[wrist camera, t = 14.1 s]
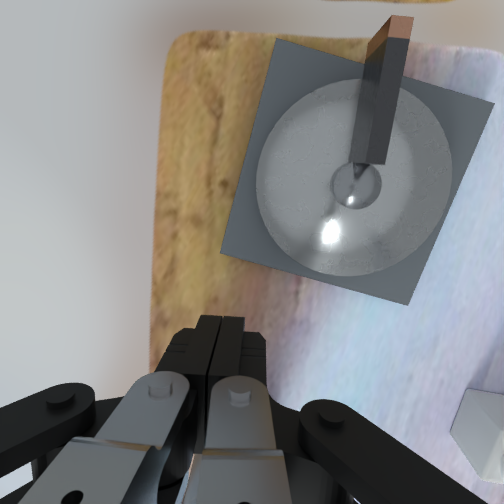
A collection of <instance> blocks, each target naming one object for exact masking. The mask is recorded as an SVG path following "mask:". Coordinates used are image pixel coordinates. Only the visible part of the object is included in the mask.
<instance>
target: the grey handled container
mask: <svg viewBox="0 0 504 504" xmlns="http://www.w3.org/2000/svg"><path fill="white" fill-rule="evenodd" d="M450 435H451V436H452V438H453V439H454V441H455V442H456V444H457V445H458V447H459V448H460V450H461V451H462V453H463V454H464V455H465V457H466V458H467V460H468V461H469V463H470V464H471V466H472V467H473V469H474V470H475V472H476V473H477V475H478V476H479V478H480V479H481V480H482V481H487V482H493V483H498V484H504V395H502V394H496V393H490V392H485V391H479V390H473V389H467V390H466V391H465V394H464V397H463V399H462V402H461V405H460V407H459V410H458V413H457V415H456V418H455V420H454V423H453V426H452V428H451V431H450Z"/></svg>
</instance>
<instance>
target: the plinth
mask: <svg viewBox="0 0 504 504" xmlns="http://www.w3.org/2000/svg"><path fill="white" fill-rule="evenodd" d="M364 65H365V64H362V63H358V62H355V61H352V60H348V59H345V58H342V57H338V56H335V55H332V54H328V53H325V52H322V51H318V50H315V49H312V48H308V47H305V46H302V45H298V44H295V43H292V42H288V41H285V40H282V39H278V38H276V42H275V46H274V50H273V53H272V57H271V61H270V65H269V69H268V72H267V76H266V80H265V84H264V88H263V91H262V95H261V99H260V103H259V107H258V110H257V114H256V118H255V122H254V125H253V129H252V133H251V137H250V141H249V144H248V148H247V152H246V156H245V160H244V163H243V167H242V171H241V175H240V179H239V182H238V186H237V190H236V194H235V198H234V201H233V205H232V209H231V213H230V216H229V220H228V224H227V228H226V232H225V235H224V239H223V243H222V247H221V251H220V253H221V254H225V255H228V256H232V257H235V258H239V259H243V260H246V261H250V262H253V263H257V264H260V265H264V266H268V267H271V268H275V269H278V270H282V271H285V272H289V273H293V274H296V275H300V276H303V277H307V278H310V279H314V280H318V281H321V282H325V283H328V284H332V285H335V286H339V287H343V288H346V289H350V290H353V291H357V292H360V293H364V294H368V295H371V296H375V297H378V298H382V299H385V300H389V301H393V302H396V303H400V304H403V305H407V306H408V304H409V302H410V300H411V297H412V295H413V293H414V290H415V288H416V286H417V283H418V281H419V279H420V276H421V274H422V272H423V269H424V267H425V265H426V262H427V260H428V258H429V255H430V253H431V251H432V248H433V246H434V244H435V241H436V239H437V237H438V234H439V232H440V230H441V227H442V225H443V223H444V220H445V218H446V216H447V213H448V211H449V209H450V206H451V204H452V202H453V200H454V197H455V195H456V193H457V190H458V188H459V186H460V183H461V181H462V179H463V176H464V174H465V172H466V169H467V167H468V165H469V162H470V160H471V158H472V155H473V153H474V151H475V148H476V146H477V144H478V141H479V139H480V137H481V134H482V132H483V130H484V127H485V125H486V123H487V120H488V118H489V116H490V113H491V111H492V109H493V106H494V104H495V103H492V102H488V101H485V100H482V99H478V98H475V97H472V96H468V95H465V94H462V93H458V92H455V91H452V90H448V89H445V88H442V87H438V86H435V85H432V84H428V83H425V82H422V81H418V80H415V79H412V78H408V77H405V76H402V81H401V86H400V88H402V89H404V90H406V91H408V92H410V93H411V94H412V95H414V96H415V97H417V98H418V99H419V100H421V101H422V102H423V103H424V104H425V105H426V106H427V107H428V108H429V109H430V111H431V112H432V113H433V114H434V116H435V117H436V118H437V120H438V122H439V123H440V125H441V127H442V129H443V131H444V133H445V136H446V138H447V141H448V144H449V149H450V153H451V160H452V183H451V188H450V194H449V198H448V201H447V204H446V207H445V209H444V212H443V214H442V216H441V218H440V220H439V222H438V223H437V225H436V227H435V228H434V230H433V231H432V233H431V234H430V235H429V236H428V238H427V239H426V240H425V241H424V242H423V243H422V244H421V245H420V246H419V247H418V248H417V249H416V250H415V251H414V252H412V253H411V254H410V255H409V256H407V257H406V258H405V259H403V260H401V261H400V262H398V263H396V264H395V265H392V266H390V267H388V268H386V269H384V270H381V271H377V272H374V273H371V274H366V275H361V276H335V275H329V274H324V273H321V272H318V271H314V270H312V269H310V268H308V267H305V266H303V265H302V264H300V263H298V262H297V261H295V260H294V259H292V258H291V257H290V256H289V255H287V254H286V253H285V252H284V251H283V250H282V249H281V248H280V247H279V246H278V245H277V243H276V242H275V241H274V239H273V238H272V236H271V235H270V234H269V232H268V230H267V228H266V226H265V224H264V222H263V219H262V216H261V214H260V210H259V206H258V201H257V193H256V174H257V168H258V162H259V159H260V155H261V152H262V149H263V147H264V144H265V142H266V140H267V138H268V136H269V134H270V132H271V131H272V129H273V127H274V126H275V124H276V123H277V122H278V121H279V119H280V118H281V117H282V116H283V114H284V113H285V112H286V111H287V110H288V109H289V108H290V107H291V106H292V105H293V104H295V103H296V102H297V101H299V100H300V99H301V98H303V97H304V96H306V95H307V94H309V93H311V92H313V91H314V90H316V89H318V88H321V87H323V86H326V85H328V84H331V83H335V82H339V81H343V80H352V79H362V77H363V71H364Z"/></svg>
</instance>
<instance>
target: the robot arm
mask: <svg viewBox="0 0 504 504" xmlns="http://www.w3.org/2000/svg"><path fill="white" fill-rule="evenodd" d="M244 327H245V317H231V316H224V317H222V316H214V315H201V316H200V318H199V320H198V323H197V325H196V328H195V329H193V328H183V329H182V330H180V331H179V332H178V333H176V334H175V335H174V336H173V338H172V340H171V342H170V345H168V347H167V349H166V352H165V353H164V355H163V357H162V358H161V360H160V362H159V364H158V366H157V368H156V370H155V371H154V373H150V374H147V375H145V376H143V377H141V378H140V379H138V380H137V381H136V382H135V383H134V384H133V386H132V387H131V388H130V390H129V391H128V392H127V394H126V395H125V396H123V397H118V398H112V399H107V400H106V399H105V400H99V401H95V392H94V390H93V389H92V388H91V387H90V386H88V385H86V384H82V383H65V384H60V385H56V386H53V387H50V388H48V389H45V390H43V391H40V392H38V393H35V394H33V395H30V396H28V397H26V398H23V399H21V400H18V401H16V402H13V403H11V404H9V405H6V406H4V407H1V408H0V478H1V477H3V476H5V475H7V474H9V473H10V472H12V471H14V470H16V469H18V468H20V467H21V466H24V465H25V464H27V463H29V462H31V466H32V474H33V480H32V481H31V482H29V483H27V484H25V485H24V486H22V487H20V488H19V489H17V490H15V491H13V492H11V493H10V494H8V495H6V496H5V497H3V498H1V499H0V504H181V502H182V499H183V496H184V493H185V496H184V500H183V504H358V503H357V502H356V501H355V500H354V498H355V499H356V500H357V501H358V502H360V503H361V504H488V503H486V502H485V501H483V500H482V499H480V498H479V497H478V496H476V495H475V494H473V493H472V492H470V491H469V490H468V489H466V488H465V487H463V486H462V485H460V484H459V483H458V482H456V481H455V480H453V479H452V478H450V477H449V476H448V475H446V474H445V473H443V472H442V471H440V470H439V469H438V468H436V467H435V466H433V465H432V464H430V463H429V462H427V461H426V460H425V459H423V458H422V457H420V456H419V455H417V454H416V453H415V452H413V451H412V450H410V449H409V448H407V447H406V446H405V445H403V444H402V443H400V442H399V441H397V440H396V439H395V438H393V437H392V436H390V435H389V434H387V433H386V432H385V431H383V430H382V429H380V428H379V427H377V426H376V425H374V424H373V423H372V422H370V421H369V420H367V419H366V418H364V417H363V416H362V415H360V414H359V413H357V412H356V411H354V410H353V409H352V408H350V407H348V406H347V405H345V404H343V403H340V402H337V401H333V400H327V399H319V400H313V401H310V402H308V403H307V404H305V405H304V406H303V407H302V409H301V411H300V412H299V411H296V410H293V409H290V408H287V407H284V406H282V405H280V404H279V403H277V402H276V401H275V400H273V399H272V397H271V396H270V395H269V393H268V390H267V385H266V340H265V339H264V338H263V336H262V335H261V334H260V333H259V332H244ZM193 454H195V456H194V460H193V464H192V468H191V472H190V476H189V468H190V465H191V461H192V457H193ZM188 476H189V480H188ZM186 487H187V488H186ZM185 490H186V492H185Z"/></svg>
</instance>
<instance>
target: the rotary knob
mask: <svg viewBox="0 0 504 504" xmlns="http://www.w3.org/2000/svg"><path fill="white" fill-rule="evenodd" d="M413 20H414V18H413V17H406V16H396V15H392V16H391V17H390V18H389V19H388V20H387V22H386V23H385V24H384V25H383V26H382V27H381V29H380V30H379V31H378V32H377V33H376V34H375V36H374V37H373V38H372V39H371V40H370V42H369V43H368V47H367V53H366V59H365V65H364V71H363V77H362V79H352V80H343V81H339V82H335V83H331V84H328V85H326V86H323V87H321V88H318V89H316V90H314V91H313V92H311V93H309V94H307V95H306V96H304V97H303V98H301V99H300V100H299V101H297V102H296V103H295V104H293V105H292V106H291V107H290V108H289V109H288V110H287V111H286V112H285V113H284V114H283V116H282V117H281V118H280V119H279V121H278V122H277V123H276V124H275V126H274V127H273V129H272V131H271V132H270V134H269V136H268V138H267V140H266V142H265V144H264V147H263V149H262V152H261V155H260V159H259V162H258V168H257V174H256V193H257V201H258V206H259V210H260V214H261V216H262V219H263V222H264V224H265V226H266V228H267V230H268V232H269V234H270V235H271V236H272V238H273V239H274V241H275V242H276V243H277V245H278V246H279V247H280V248H281V249H282V250H283V251H284V252H285V253H286V254H287V255H289V256H290V257H291V258H292V259H294V260H295V261H297V262H298V263H300V264H302V265H303V266H305V267H308V268H310V269H312V270H314V271H318V272H321V273H324V274H329V275H335V276H361V275H366V274H371V273H374V272H377V271H381V270H384V269H386V268H388V267H390V266H392V265H395V264H396V263H398V262H400V261H401V260H403V259H405V258H406V257H407V256H409V255H410V254H411V253H412V252H414V251H415V250H416V249H417V248H418V247H419V246H420V245H421V244H422V243H423V242H424V241H425V240H426V239H427V238H428V236H429V235H430V234H431V233H432V231H433V230H434V228H435V227H436V225H437V223H438V222H439V220H440V218H441V216H442V214H443V212H444V209H445V207H446V204H447V201H448V198H449V194H450V188H451V183H452V160H451V153H450V149H449V144H448V141H447V138H446V136H445V133H444V131H443V129H442V127H441V125H440V123H439V122H438V120H437V118H436V117H435V116H434V114H433V113H432V112H431V111H430V109H429V108H428V107H427V106H426V105H425V104H424V103H423V102H422V101H421V100H419V99H418V98H417V97H415V96H414V95H412V94H411V93H410V92H408V91H406V90H404V89H402V88H400V86H401V81H402V76H403V71H404V66H405V61H406V55H407V50H408V45H409V40H410V35H411V30H412V25H413Z"/></svg>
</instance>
